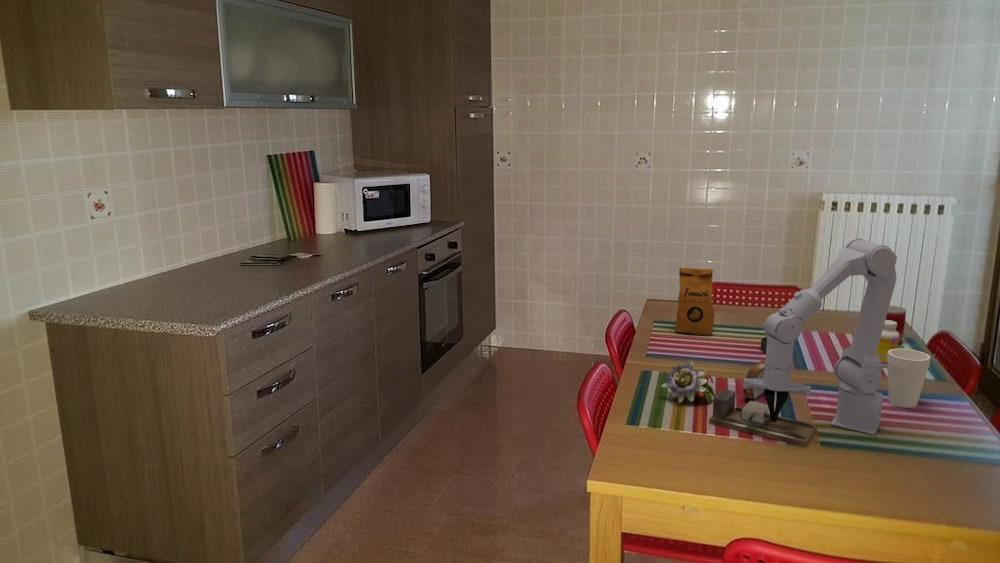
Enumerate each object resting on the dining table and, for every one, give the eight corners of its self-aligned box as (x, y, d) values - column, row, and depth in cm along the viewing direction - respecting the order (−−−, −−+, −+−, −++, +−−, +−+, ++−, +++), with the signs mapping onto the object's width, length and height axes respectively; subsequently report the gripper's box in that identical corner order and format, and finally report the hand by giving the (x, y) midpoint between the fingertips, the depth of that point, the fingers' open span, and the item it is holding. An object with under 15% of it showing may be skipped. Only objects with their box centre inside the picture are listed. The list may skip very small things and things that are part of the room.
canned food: (903, 340, 237) (907, 307, 234) (900, 347, 230) (905, 313, 228) (876, 336, 241) (880, 304, 238) (873, 343, 234) (877, 309, 232)
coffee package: (712, 338, 240) (716, 272, 235) (673, 334, 244) (676, 270, 239) (714, 329, 249) (718, 266, 244) (677, 326, 253) (680, 264, 248)
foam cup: (889, 393, 194) (895, 346, 191) (928, 402, 187) (935, 354, 184) (876, 403, 187) (882, 354, 184) (916, 413, 181) (923, 363, 178)
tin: (762, 384, 200) (764, 355, 198) (773, 387, 198) (776, 357, 196) (740, 401, 189) (743, 370, 187) (752, 404, 187) (755, 373, 185)
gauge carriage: (770, 417, 175) (771, 405, 175) (759, 429, 169) (760, 417, 168) (746, 412, 178) (747, 400, 178) (735, 424, 172) (736, 411, 171)
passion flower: (679, 422, 190) (653, 385, 189) (690, 400, 198) (665, 365, 198) (716, 407, 183) (689, 369, 182) (726, 385, 192) (699, 348, 191)
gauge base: (816, 431, 172) (818, 407, 170) (805, 447, 164) (807, 422, 162) (723, 409, 184) (724, 387, 183) (709, 423, 176) (710, 400, 175)
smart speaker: (795, 356, 223) (796, 344, 222) (765, 356, 223) (766, 344, 222) (784, 347, 231) (785, 335, 230) (756, 347, 232) (757, 335, 231)
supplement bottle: (889, 369, 211) (895, 326, 208) (866, 363, 216) (871, 321, 213) (899, 364, 215) (904, 322, 212) (875, 358, 220) (880, 317, 217)
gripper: (812, 363, 170) (807, 418, 173) (746, 356, 175) (742, 409, 178) (812, 373, 163) (807, 430, 166) (744, 365, 169) (740, 420, 172)
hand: (773, 420), depth 172 cm, fingers closed
